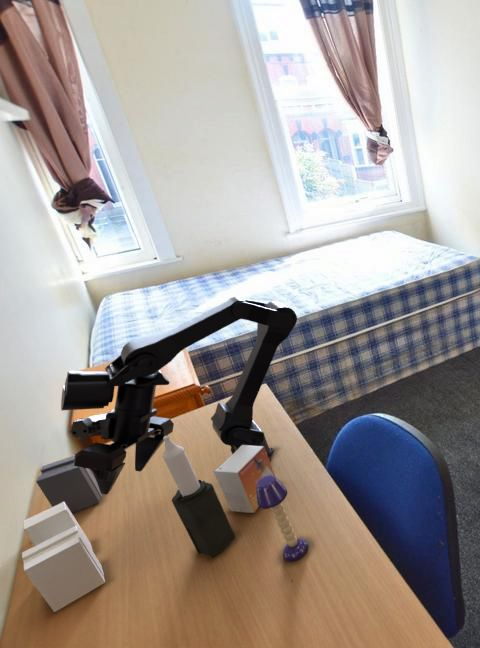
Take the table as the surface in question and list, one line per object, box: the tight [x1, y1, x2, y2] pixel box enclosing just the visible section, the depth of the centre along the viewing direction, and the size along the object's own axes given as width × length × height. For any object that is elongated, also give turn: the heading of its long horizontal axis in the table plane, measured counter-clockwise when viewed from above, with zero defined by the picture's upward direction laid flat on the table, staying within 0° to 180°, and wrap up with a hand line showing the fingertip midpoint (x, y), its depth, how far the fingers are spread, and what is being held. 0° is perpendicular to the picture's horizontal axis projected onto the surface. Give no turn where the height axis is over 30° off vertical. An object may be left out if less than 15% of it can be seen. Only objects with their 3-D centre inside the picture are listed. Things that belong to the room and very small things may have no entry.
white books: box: [21, 526, 106, 613], centre depth 79 cm, size 7×5×10 cm
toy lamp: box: [256, 475, 309, 562], centre depth 81 cm, size 5×5×17 cm
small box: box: [213, 445, 276, 514], centre depth 95 cm, size 8×6×10 cm
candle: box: [162, 435, 236, 558], centre depth 82 cm, size 5×5×25 cm
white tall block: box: [22, 502, 94, 552], centre depth 85 cm, size 6×3×11 cm, turn 137°
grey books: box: [35, 455, 103, 514], centre depth 99 cm, size 7×5×10 cm
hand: (122, 481), depth 91 cm, fingers open, 9 cm apart
